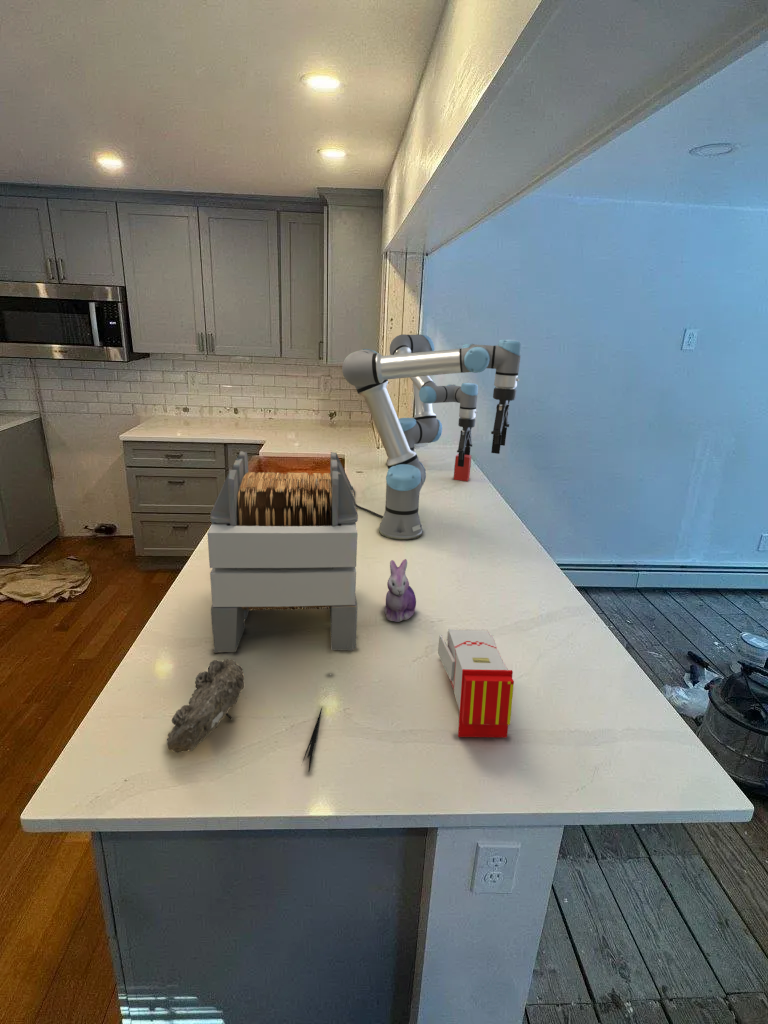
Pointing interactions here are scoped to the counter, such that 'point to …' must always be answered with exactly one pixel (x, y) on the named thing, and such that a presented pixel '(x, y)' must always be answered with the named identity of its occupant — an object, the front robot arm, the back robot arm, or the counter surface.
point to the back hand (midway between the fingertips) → (463, 463)
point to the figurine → (399, 594)
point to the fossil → (206, 705)
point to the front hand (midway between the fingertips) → (498, 449)
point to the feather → (313, 740)
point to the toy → (478, 682)
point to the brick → (462, 469)
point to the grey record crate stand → (283, 549)
